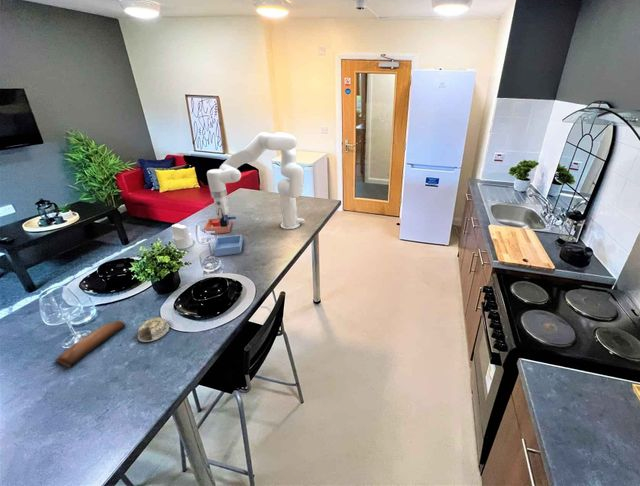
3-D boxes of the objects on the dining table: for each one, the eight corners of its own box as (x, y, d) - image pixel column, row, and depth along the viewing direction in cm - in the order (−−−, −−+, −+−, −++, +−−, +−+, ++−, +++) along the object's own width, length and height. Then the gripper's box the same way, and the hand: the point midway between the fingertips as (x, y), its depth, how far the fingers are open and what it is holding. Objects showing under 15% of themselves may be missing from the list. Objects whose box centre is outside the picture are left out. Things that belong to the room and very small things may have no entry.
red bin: (231, 223, 191) (230, 216, 189) (229, 232, 180) (227, 225, 178) (209, 225, 188) (208, 219, 186) (205, 234, 176) (204, 228, 174)
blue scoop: (237, 221, 161) (236, 213, 159) (236, 225, 157) (235, 216, 155) (220, 223, 159) (219, 214, 157) (219, 226, 155) (217, 218, 153)
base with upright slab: (171, 246, 163) (165, 228, 158) (185, 239, 171) (180, 221, 166) (183, 250, 160) (178, 231, 155) (197, 242, 168) (192, 224, 163)
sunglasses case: (109, 321, 112) (110, 312, 109) (124, 331, 112) (126, 322, 109) (53, 361, 96) (53, 351, 93) (70, 372, 96) (71, 363, 93)
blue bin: (242, 241, 170) (241, 234, 168) (240, 253, 159) (239, 246, 157) (218, 244, 167) (216, 237, 165) (214, 256, 155) (213, 249, 153)
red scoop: (228, 225, 187) (227, 218, 185) (227, 228, 183) (226, 221, 181) (214, 227, 185) (212, 220, 183) (213, 230, 181) (211, 223, 179)
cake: (152, 322, 114) (149, 310, 112) (176, 324, 113) (173, 313, 111) (130, 341, 104) (127, 329, 103) (156, 344, 104) (153, 332, 102)
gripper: (224, 198, 144) (230, 230, 151) (228, 187, 159) (233, 217, 166) (207, 199, 142) (214, 232, 149) (213, 188, 157) (219, 218, 164)
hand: (224, 223), depth 158 cm, fingers closed on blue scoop, 4 cm apart
